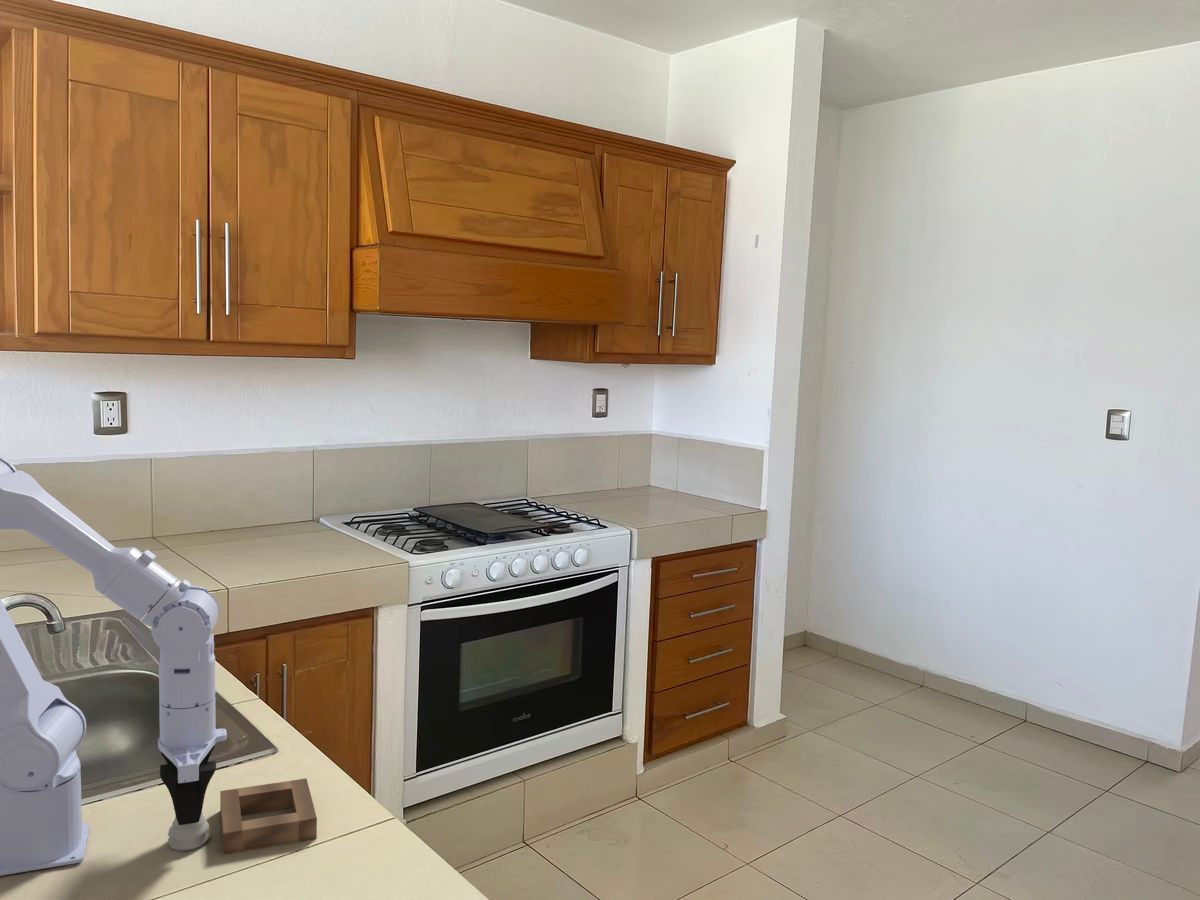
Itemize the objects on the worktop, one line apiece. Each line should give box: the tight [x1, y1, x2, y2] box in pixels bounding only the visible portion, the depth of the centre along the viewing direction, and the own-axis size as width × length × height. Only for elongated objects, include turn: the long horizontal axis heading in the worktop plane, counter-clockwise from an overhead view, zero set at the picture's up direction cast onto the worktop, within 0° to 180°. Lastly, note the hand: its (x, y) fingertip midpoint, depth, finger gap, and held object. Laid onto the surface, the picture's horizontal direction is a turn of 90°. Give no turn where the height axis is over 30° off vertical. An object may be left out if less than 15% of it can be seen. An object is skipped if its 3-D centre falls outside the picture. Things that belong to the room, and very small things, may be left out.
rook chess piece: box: [167, 811, 211, 852], centre depth 105 cm, size 4×4×8 cm
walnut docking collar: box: [219, 778, 318, 855], centre depth 109 cm, size 10×10×2 cm
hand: (188, 813), depth 105 cm, fingers open, 3 cm apart
